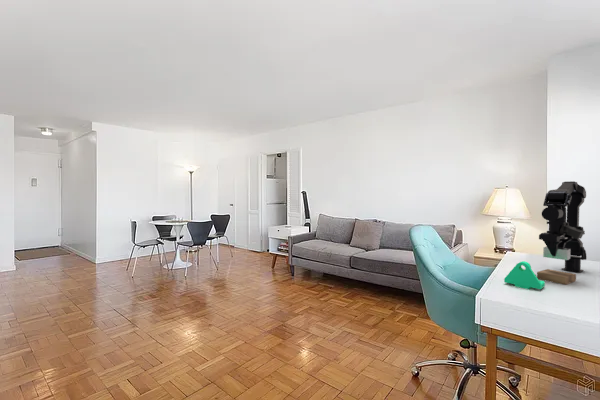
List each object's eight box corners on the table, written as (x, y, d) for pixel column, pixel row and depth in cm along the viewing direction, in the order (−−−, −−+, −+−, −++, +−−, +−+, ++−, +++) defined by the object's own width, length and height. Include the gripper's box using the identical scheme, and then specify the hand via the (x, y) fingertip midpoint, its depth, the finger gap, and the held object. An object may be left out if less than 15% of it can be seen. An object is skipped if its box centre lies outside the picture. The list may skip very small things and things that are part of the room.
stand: (547, 275, 137) (547, 268, 137) (575, 281, 129) (575, 274, 128) (536, 278, 132) (537, 271, 132) (565, 284, 124) (565, 277, 124)
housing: (546, 255, 135) (546, 246, 135) (570, 258, 129) (570, 248, 128) (543, 256, 132) (543, 247, 132) (567, 260, 126) (567, 250, 125)
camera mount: (545, 287, 120) (545, 262, 120) (540, 292, 115) (541, 265, 115) (509, 281, 130) (510, 257, 129) (504, 284, 125) (504, 260, 124)
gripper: (572, 222, 118) (571, 261, 119) (590, 219, 127) (589, 256, 128) (538, 219, 128) (537, 256, 128) (558, 218, 137) (557, 252, 137)
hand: (556, 255), depth 130 cm, fingers closed on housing, 5 cm apart
